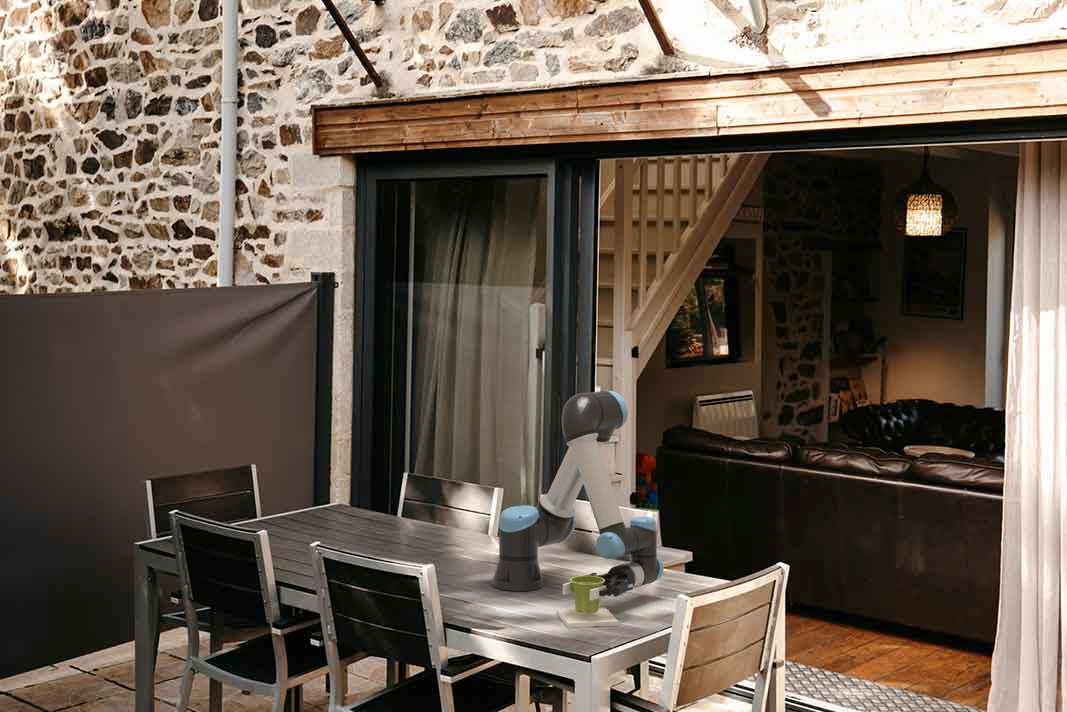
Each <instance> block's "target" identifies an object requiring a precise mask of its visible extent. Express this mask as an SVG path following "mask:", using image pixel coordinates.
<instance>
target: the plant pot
mask: <svg viewBox="0 0 1067 712" xmlns="http://www.w3.org/2000/svg"><path fill="white" fill-rule="evenodd" d="M576 581H577V582H576ZM569 582H572V586H573V589H574V592H573V595H574V596H573V597H574V604H575V609H576V611H578V612H580V613H584V612H587V613H595V612H597V611H598V609H599V608H600V601H601V598H598V599H595V600H590V590H592V589H595V588H598V587H601V586H603V583H604V582H605V580H604V579H603V578H601V577H597V576H583V575H577V576H573V577H571V578H570V579H569Z"/></svg>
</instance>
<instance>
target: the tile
mask: <svg viewBox="0 0 1067 712" xmlns="http://www.w3.org/2000/svg"><path fill="white" fill-rule="evenodd" d="M556 615H557V616H558V617H559V618H560V620H561V621H562V622H563V624H564V625H565V626H566V627H567V628H571V629H572V628H573V629H575V628H593V627H594V626H600V627H618V626H619V620H618V619H617V618H616V617H615V616H614V615H613V614H612V613H611V612H610V610H609V609H608V608H606V607H599V609H598V611H597V612H595V613H587V612H584V613H580V612H578V611H576V608H560V609H559V608H557V609H556Z"/></svg>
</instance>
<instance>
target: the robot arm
mask: <svg viewBox="0 0 1067 712" xmlns="http://www.w3.org/2000/svg"><path fill="white" fill-rule="evenodd" d="M628 411H629V410H628V407H627V403H626V401H625V399H624V398H623V397H622V395H621V394H620V393H618V392H616V391H613V390H605V389H603V390H599V391H594V392H593V391H591V392H579V393H576V394H575V395H572V396H571V397H570V398H569V399H568V400H567V401H566V403H565V405H564V406H563V409H562V413H561V428H562V430H561V431H562V434H563V437H564V440H565V444H566V446H567V447H568V449H567V451H566V453H565V455H564V458H563V460H562V462H561V464H560V466H559V468H558V470H557V473H556V475H555V478H554V479H553V481H552V484H551V486H550V488H549V490H548V492H547V493H546V494H542V495H541V496H540V498H539V500H538V502H537V505H536V507H535V506H532V505H525V504H524V505H518V506H517V505H516V506H510V507H506V509H504V510H503V511H501V513H500V517H499V524H498V528H499V529H498V530H499V539H498V541H499V542H498V545H499V546H498V547H499V549H498V550H499V551H498V557H499V558H498V562H497V566H496V569H495V571H494V575H493V578H492V579H493V580H492V585H493V587H494V588H496V589H499V590H502V591H509V592H510V591H511V592H529V591H535V590H539V589H541V588H542V587H543V586H544V584H543V583H544V577H543V574H542V571H541V567H540V563H539V559H538V555H539V553H538V552H539V551H538V550H539V548H540V547H545V546H549V545H555V544H560V543H561V542H564V541H565V540H568V539H569V538H570V537H571V536H572V535H573V533H574V531H575V529H576V520H575V519H576V516H575V514H576V510H575V507H574V504H575V502H576V499H577V498H578V496H579V493H580V492H581V489H582V487H584V489H585V493H586V496H587V498H588V502H589V505H590V508H591V511H592V513H593V517H594V520H595V523H596V526H597V529H598V532H599V535H598V537H597V539H596V543H595V544H596V545H595V547H596V551H597V553H598V554H599V555H600V557H602V558H604V559H606V560H612V559H620V558H622V557H626V556H629V555H630V561H627V562H624V563H621V564H618V565H614V566H613V567H611V568H610V569H609V570H608V572H607V573H604V574H597V573H596V572H592V573H589V574H585V575H582V576H597V577H601V578H603V579H604V580H605V582H604V583H603V586H601V587H598V588H595V589H592V590H590V600H595V599H598V598H600V599H601V598H604V597H606V596H607V597H611V596H612V595H613V597H619V596H622V595H623V594H625V593H627V592H628V591H632V590H633V589H636V588H639V587H642V586H646V585H649V584H652V583H654V582H656V581H658V580H659V579H661V578H662V576H663V574H664V570H665V568H664V565H663V562H662V559H660V558H659V557H658V555H657V554H658V553H657V552H658V551H657V548H658V547H657V545H658V544H657V542H658V541H657V539H658V537H657V535H658V534H657V533H658V530H657V521H656V519H655V518H653V517H650V516H635V517H632V518H631V519H630V523H629V527H627V526H626V525H625V522H624V519H623V516H622V513H621V509H620V506H619V504H618V501H617V498H616V495H615V491H614V489H613V487H612V486H613V485H612V482H611V480H610V476H609V473H608V471H607V468H606V464H605V462H604V459H603V456H602V453H601V450H600V449H601V446H602V445H603V444H607V443H609V442H610V440H611V438H612V435H613V434H614V433H615V432H614V431H615V430H619V429H620V428H622V427H623V426H624V425H625V424H626V423H627V420H628ZM576 582H577V581H576ZM570 593H574V589H573V586H572V582H571V581H569V582H566V583H563V584H562V595H567V594H570Z"/></svg>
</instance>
